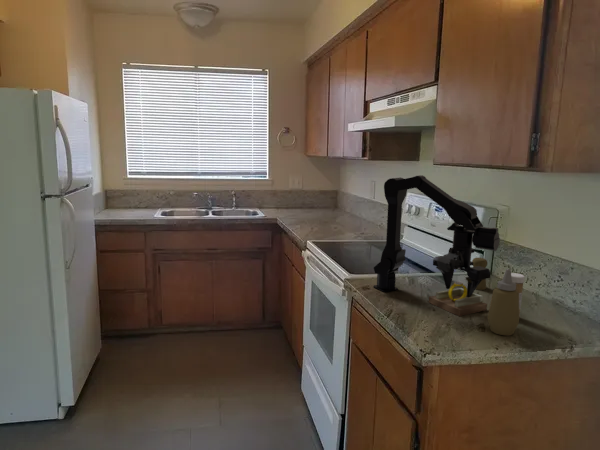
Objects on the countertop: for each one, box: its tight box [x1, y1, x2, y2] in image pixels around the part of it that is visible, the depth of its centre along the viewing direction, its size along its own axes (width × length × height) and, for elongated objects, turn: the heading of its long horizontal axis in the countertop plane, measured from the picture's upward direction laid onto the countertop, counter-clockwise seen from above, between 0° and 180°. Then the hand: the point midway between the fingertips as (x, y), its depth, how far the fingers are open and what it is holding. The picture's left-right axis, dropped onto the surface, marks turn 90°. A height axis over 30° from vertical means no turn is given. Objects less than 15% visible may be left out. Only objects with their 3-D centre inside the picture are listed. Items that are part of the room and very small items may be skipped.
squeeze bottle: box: [487, 268, 520, 337], centre depth 124 cm, size 8×8×18 cm
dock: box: [428, 287, 488, 317], centre depth 144 cm, size 13×12×4 cm
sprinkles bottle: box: [511, 272, 525, 319], centre depth 135 cm, size 5×5×13 cm
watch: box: [448, 281, 467, 301], centre depth 144 cm, size 6×3×6 cm, turn 105°
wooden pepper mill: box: [471, 257, 488, 291], centre depth 163 cm, size 6×6×11 cm
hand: (458, 292), depth 144 cm, fingers open, 8 cm apart
